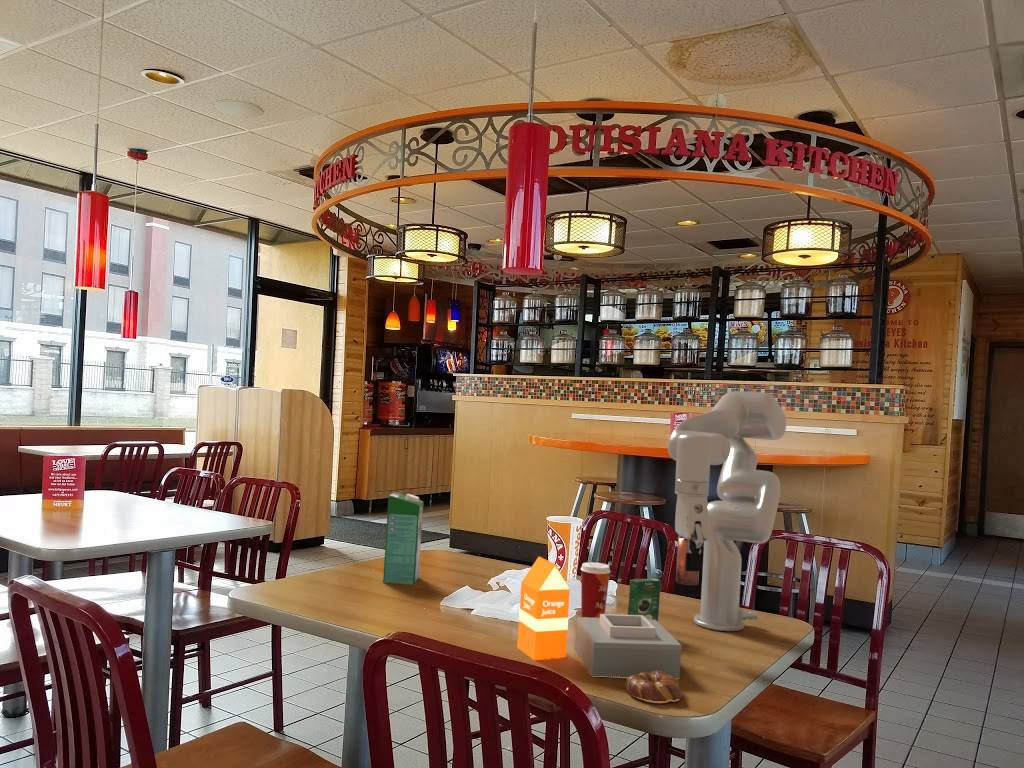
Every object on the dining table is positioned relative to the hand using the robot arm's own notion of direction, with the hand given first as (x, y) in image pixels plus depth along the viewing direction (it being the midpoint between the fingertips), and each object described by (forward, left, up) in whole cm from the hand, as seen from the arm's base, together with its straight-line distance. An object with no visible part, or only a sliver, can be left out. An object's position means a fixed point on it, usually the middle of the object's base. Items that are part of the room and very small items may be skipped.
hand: (688, 567), depth 180 cm
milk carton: (+65, -58, -19) cm, 89 cm away
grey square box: (+16, +10, -19) cm, 27 cm away
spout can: (0, 0, -4) cm, 4 cm away
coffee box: (+6, -12, -19) cm, 23 cm away
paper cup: (+16, -22, -19) cm, 33 cm away
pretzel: (+15, +27, -19) cm, 37 cm away
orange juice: (+33, +4, -19) cm, 39 cm away
